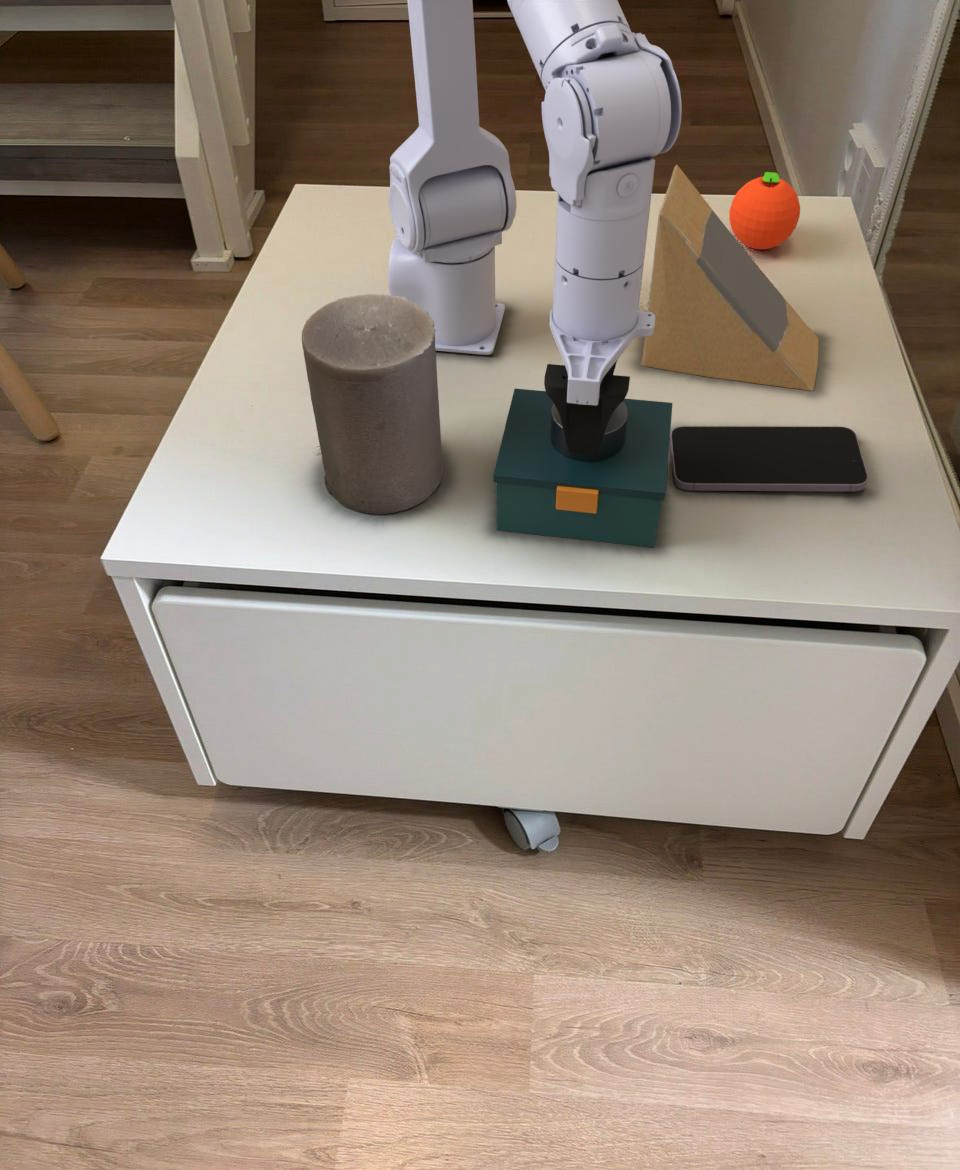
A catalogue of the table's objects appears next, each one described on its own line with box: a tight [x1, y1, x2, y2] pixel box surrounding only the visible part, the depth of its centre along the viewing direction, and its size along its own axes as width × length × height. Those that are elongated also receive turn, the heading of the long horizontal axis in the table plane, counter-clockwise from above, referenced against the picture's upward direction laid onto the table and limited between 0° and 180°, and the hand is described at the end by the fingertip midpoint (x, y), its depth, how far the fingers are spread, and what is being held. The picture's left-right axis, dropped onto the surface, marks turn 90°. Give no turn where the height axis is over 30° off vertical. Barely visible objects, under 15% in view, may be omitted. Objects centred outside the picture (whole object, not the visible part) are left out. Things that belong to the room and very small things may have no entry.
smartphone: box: [669, 425, 869, 493], centre depth 83 cm, size 7×1×15 cm
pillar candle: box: [301, 293, 443, 515], centre depth 78 cm, size 10×10×15 cm
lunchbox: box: [492, 388, 673, 548], centre depth 79 cm, size 12×11×6 cm
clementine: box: [728, 171, 801, 250], centre depth 104 cm, size 8×7×7 cm
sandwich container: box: [641, 164, 820, 392], centre depth 88 cm, size 9×15×15 cm, turn 74°
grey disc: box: [550, 402, 628, 462], centre depth 76 cm, size 6×6×2 cm
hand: (587, 423), depth 76 cm, fingers closed on grey disc, 6 cm apart
